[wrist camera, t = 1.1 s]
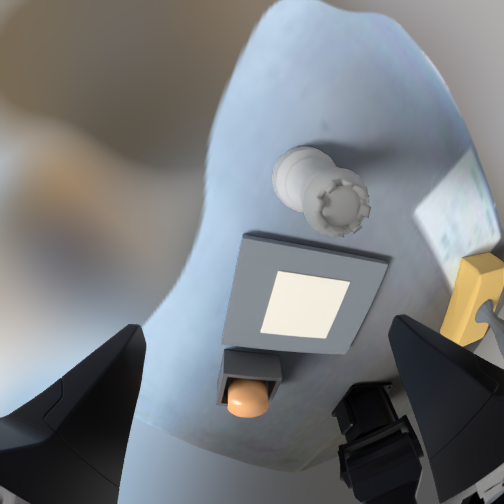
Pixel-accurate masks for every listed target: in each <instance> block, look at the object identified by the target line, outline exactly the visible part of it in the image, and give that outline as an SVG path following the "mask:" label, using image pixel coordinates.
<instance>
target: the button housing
mask: <svg viewBox="0 0 504 504" xmlns="http://www.w3.org/2000/svg"><path fill="white" fill-rule="evenodd" d="M236 378H244V379H255V380H263V381H264V382H265V383H266V386H267V395H268V404H269V406H270V404H271V402H272V400H273V398H274V396H275V394H276V392H277V390H278V387H279V385H280V383H281V381H282V373H281V367H280V361H279V355H269V354H259V353H250V352H241V351H233V350H225V349H224V354H223V358H222V363H221V368H220V373H219V378H218V384H217V403H216V405H221V406H228V385H229V383H230V382H231V381H232V380H234V379H236ZM268 409H269V408H268Z"/></svg>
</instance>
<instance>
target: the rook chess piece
mask: <svg viewBox="0 0 504 504" xmlns="http://www.w3.org/2000/svg"><path fill="white" fill-rule="evenodd" d="M272 183H273V186H274V190H275V193H276V195H277V196H278V197H279V198H280V200H281V201H282V202H283V203H284V204H285V205H286V206H288V207H290V208H291V209H293V210H295V211H297V212H304V215H305V219H306V220H307V222H308V223H309V224H310V226H311V227H312V228H313V229H314V230H315V231H317V232H319V233H321V234H322V235H324V236H334V237H338V236H341V237H344V235H345V234H348V233H350V232H351V231H352V232H353V233H354V234H355V233H356V232H357V231H358V230H360V229H361V228H362V226H361V225H360V224H361V222H362V220H363V219H364V217H367V218H369V214H370V210H371V207H370V206H368V205H369V195H368V190H367V187H366V185H365V184H364V182H363V180H362V179H361V177H360V176H358V175H357V174H355V173H354V172H352V171H351V170H349V169H344V168H338V167H336V165H335V164H334V162H333V161H332V159H331V158H330V157H329V156H328V155H326V154H325V153H323V152H322V151H320V150H318V149H316V148H313V147H306V146H301V147H297V148H293V149H290V150H289V151H287V152H286V153H285V154H283V155H282V156H281V157H280V158H279V160H278V161H277V163H276V165H275V167H274V169H273V177H272Z"/></svg>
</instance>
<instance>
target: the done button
mask: <svg viewBox="0 0 504 504" xmlns="http://www.w3.org/2000/svg"><path fill="white" fill-rule="evenodd" d="M268 408H269V404H268V395H267V386H266V383H265V382H264V381H263V380H255V379H244V378H236V379H234V380H232V381H231V382H230V383H229V385H228V410H229V411H230V412H231V413H232V414H234V415H236V416H239V417H256V416H259V415H262V414H264V413H265V412H266V411H267V410H268Z"/></svg>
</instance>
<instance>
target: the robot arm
mask: <svg viewBox="0 0 504 504" xmlns="http://www.w3.org/2000/svg"><path fill="white" fill-rule="evenodd" d="M388 338H389V341H390V345H391V348H392V351H393V355H394V358H395V362H396V365H397V368H398V371H399V374H400V377H401V379H402V382H403V385H404V387H405V390H406V392H407V395H408V398H409V400H410V403H411V406H412V409H413V412H414V414H415V417H416V420H417V423H418V426H419V429H420V432H421V435H422V439H423V442H424V445H425V448H426V452H427V455H428V459H429V463H430V466H431V470H432V473H433V478H434V482H435V486H436V489H437V494H438V499H439V502H440V503H443V502H445V501H447V500H448V499H450V498H452V497H454V496H455V495H457V494H459V493H461V492H462V491H464V490H466V489H467V488H469V487H470V486H472V485H475V487H476V490H477V491H475V492H474V493H472V494H471V495H470V496H468V497H466V498H465V499H463V501H462V503H461V504H504V369H501V368H500V367H498V366H496V365H494V364H492V363H490V362H488V361H486V360H484V359H483V358H481V357H479V356H477V355H476V354H474V353H472V352H471V351H469V350H467V349H465V348H464V347H462V346H460V345H458V344H457V343H455V342H453V341H451V340H450V339H448V338H446V337H444V336H443V335H441V334H439V333H437V332H436V331H434V330H432V329H430V328H429V327H427V326H425V325H423V324H422V323H420V322H418V321H416V320H414V319H413V318H411V317H409V316H407V315H405V314H402V315H396V316H395V317H394V319H393V322H392V324H391V327H390V330H389V333H388ZM145 353H146V341H145V338H144V334H143V331H142V328H141V326H140V325H137V324H128V325H127V326H126V327H124V328H123V329H122V330H121V331H119V332H118V333H117V334H116V335H114V336H113V337H112V338H110V339H109V340H108V341H107V342H105V343H104V344H103V345H101V346H100V347H99V348H98V349H96V350H95V351H94V352H92V353H91V354H90V355H89V356H87V357H86V358H85V359H84V360H82V361H81V362H80V363H79V364H77V365H76V366H75V367H74V368H72V369H71V370H70V371H69V372H67V373H66V374H65V375H64V376H62V378H60V379H59V380H57V381H56V382H55V383H54V384H52V385H51V386H50V387H49V388H47V389H46V390H45V391H43V392H42V393H40V394H39V395H37V396H36V397H35V398H33V399H32V400H30V401H29V402H27V403H26V404H24V405H23V406H21V407H20V408H18V409H17V410H15V411H13V412H12V413H10V414H9V415H7V416H5V417H1V418H0V504H117V500H118V495H119V487H120V481H121V474H122V469H123V464H124V458H125V453H126V448H127V443H128V438H129V434H130V429H131V425H132V420H133V416H134V412H135V407H136V403H137V399H138V395H139V391H140V387H141V381H142V374H143V367H144V360H145ZM392 387H393V384H392V383H382V384H367V385H353V386H351V387H350V388H349V390H348V391H347V393H346V394H345V396H344V397H343V398H342V400H341V401H340V403H339V404H338V405H337V407H336V408H335V409H334V411H333V412H332V416H333V417H337V420H338V423H339V427H340V430H341V434H342V435H345V437H346V440H347V443H346V444H344V445H343V444H342V445H339V451H338V455H339V460H340V479H341V481H343V482H345V483H346V484H347V486H348V488H349V489H353V492H354V495H355V498H356V499H358V500H359V501H360V502H362V503H363V504H418V503H417V499H416V495H417V492H418V488H419V485H420V481H421V477H422V466H421V464H420V461H419V459H421V458H423V457H424V454H423V451H422V448H421V445H420V443H419V440H418V438H417V436H416V434H415V432H414V430H413V428H412V426H411V424H410V422H409V420H408V418H407V416H406V415H404V416H402V418H400V419H399V418H398V416H397V414H396V411H395V409H394V407H393V405H392V403H391V400H390V398H389V396H388V392H389V391H390V390H391V389H392Z"/></svg>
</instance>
